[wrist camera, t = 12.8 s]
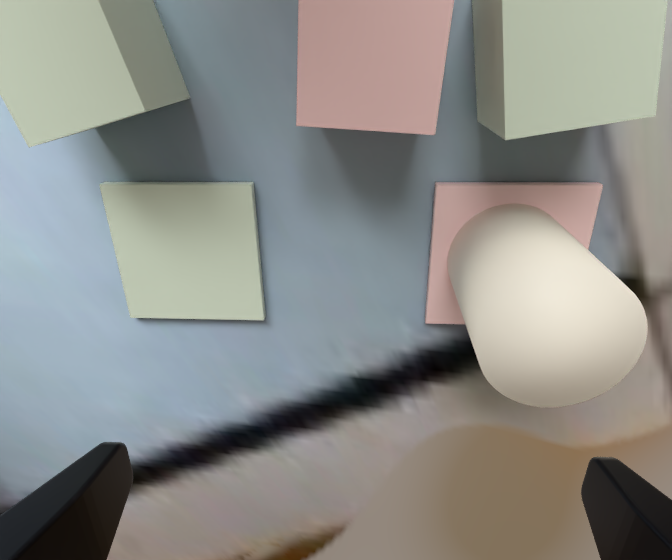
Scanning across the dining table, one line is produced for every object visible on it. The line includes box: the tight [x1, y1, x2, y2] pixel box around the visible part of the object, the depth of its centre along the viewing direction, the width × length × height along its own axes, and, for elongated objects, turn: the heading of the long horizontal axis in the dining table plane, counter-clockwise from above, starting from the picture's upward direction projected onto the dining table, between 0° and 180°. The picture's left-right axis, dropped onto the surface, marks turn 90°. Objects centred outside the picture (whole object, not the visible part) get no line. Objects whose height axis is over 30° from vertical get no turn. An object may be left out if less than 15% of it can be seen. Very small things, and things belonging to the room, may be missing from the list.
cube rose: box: [296, 0, 454, 135], centre depth 15 cm, size 4×4×4 cm
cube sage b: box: [0, 0, 190, 147], centre depth 15 cm, size 4×4×4 cm
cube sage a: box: [472, 0, 668, 140], centre depth 14 cm, size 4×4×4 cm
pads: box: [99, 182, 603, 324], centre depth 20 cm, size 6×19×1 cm, turn 91°
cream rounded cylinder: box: [447, 203, 648, 408], centre depth 16 cm, size 5×5×6 cm
